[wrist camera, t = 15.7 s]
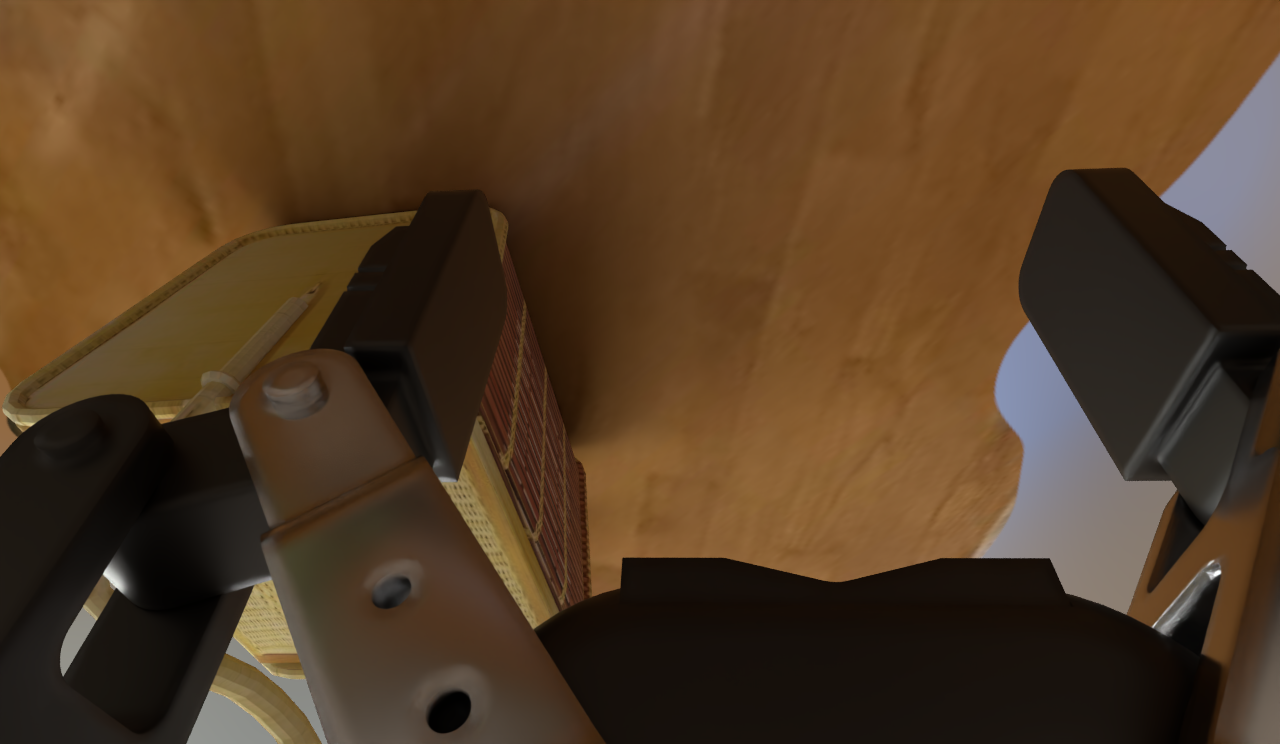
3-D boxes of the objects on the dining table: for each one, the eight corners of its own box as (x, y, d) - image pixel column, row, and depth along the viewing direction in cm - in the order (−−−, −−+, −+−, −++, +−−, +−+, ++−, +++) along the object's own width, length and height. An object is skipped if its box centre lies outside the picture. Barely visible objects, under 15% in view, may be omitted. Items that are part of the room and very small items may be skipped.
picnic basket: (190, 203, 49) (-249, 577, 27) (544, 162, 45) (375, 563, 23) (360, 476, 68) (185, 832, 46) (622, 465, 64) (571, 850, 41)
